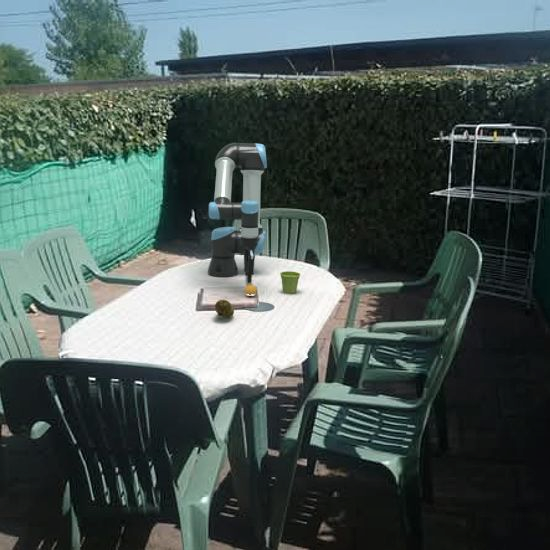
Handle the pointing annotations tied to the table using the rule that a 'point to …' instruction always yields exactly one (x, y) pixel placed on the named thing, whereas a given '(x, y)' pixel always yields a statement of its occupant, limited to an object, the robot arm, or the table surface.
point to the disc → (262, 307)
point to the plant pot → (289, 281)
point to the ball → (250, 289)
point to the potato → (224, 308)
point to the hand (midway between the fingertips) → (248, 289)
